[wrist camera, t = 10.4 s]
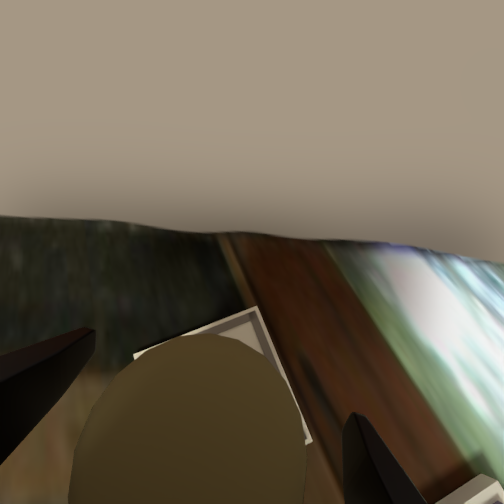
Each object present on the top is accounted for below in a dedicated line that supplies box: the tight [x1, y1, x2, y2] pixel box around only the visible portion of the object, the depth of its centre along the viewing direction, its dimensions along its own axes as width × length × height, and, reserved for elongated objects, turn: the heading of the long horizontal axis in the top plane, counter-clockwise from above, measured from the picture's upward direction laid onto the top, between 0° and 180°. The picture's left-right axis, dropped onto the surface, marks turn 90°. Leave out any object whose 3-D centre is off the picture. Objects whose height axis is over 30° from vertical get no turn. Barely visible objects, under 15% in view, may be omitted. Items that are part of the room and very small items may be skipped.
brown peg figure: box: [68, 333, 307, 504], centre depth 10 cm, size 6×6×11 cm
